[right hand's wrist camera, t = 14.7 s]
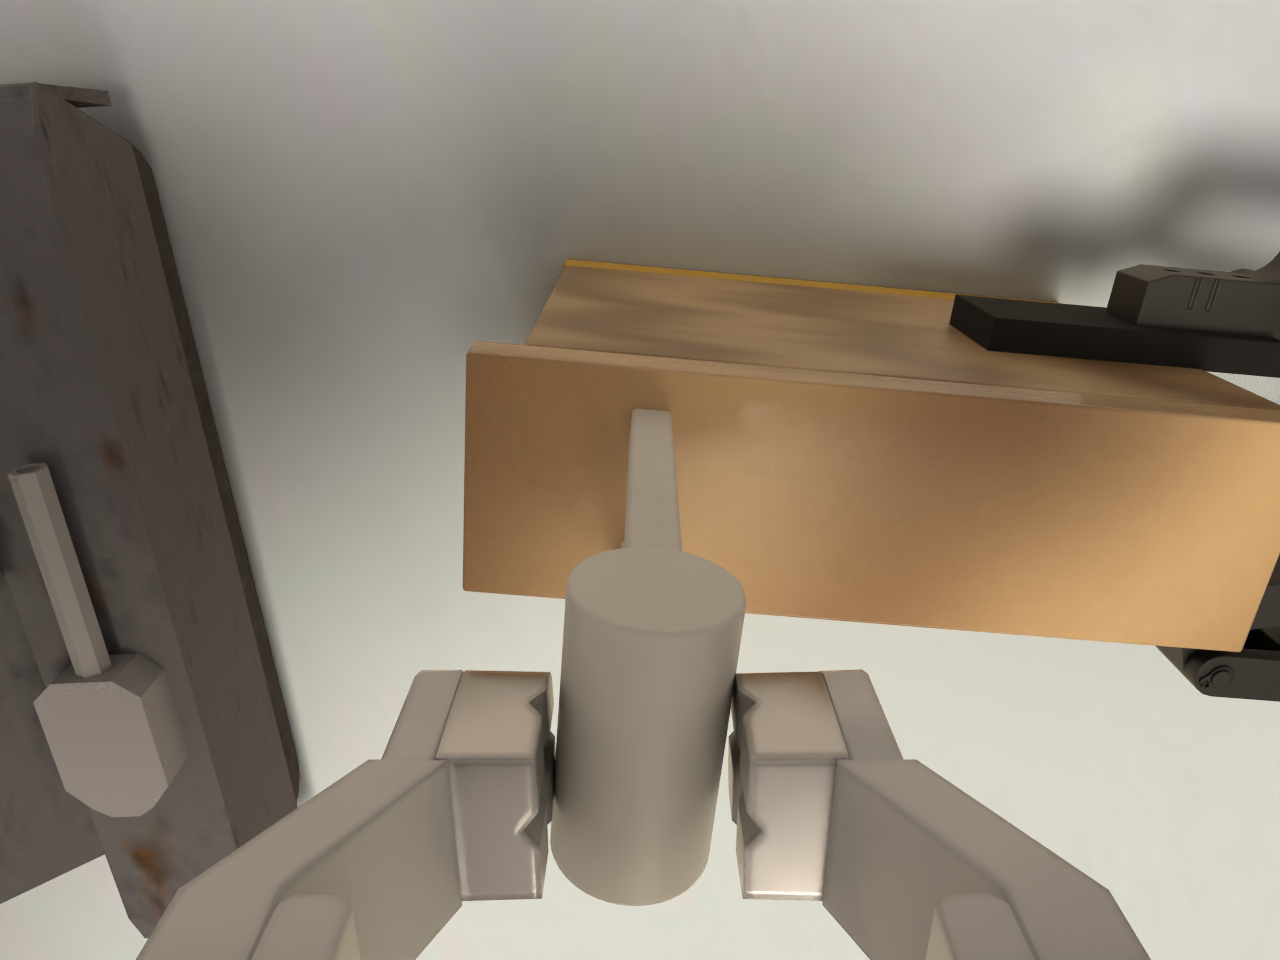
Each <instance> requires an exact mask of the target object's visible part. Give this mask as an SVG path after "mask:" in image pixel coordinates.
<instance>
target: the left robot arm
mask: <svg viewBox="0 0 1280 960" xmlns="http://www.w3.org/2000/svg"><path fill="white" fill-rule="evenodd" d="M949 324H950V325H951V326H953V327H954V328H956V329H957V330H958V331H960V332H961V333H963V334H964V335H966V336H967V337H969V338H970V339H972V340H973V341H974V342H976V343H977V344H979V345H980V346H982V347H983V348H985V349H986V350H988V351H996V352H1008V353H1019V354H1031V355H1042V356H1054V357H1065V358H1077V359H1088V360H1100V361H1111V362H1123V363H1135V364H1146V365H1158V366H1169V367H1181V368H1192V369H1202V370H1204V371H1210V372H1221V373H1232V374H1244V375H1255V376H1266V377H1278V378H1280V252H1279V253H1278V254H1277V256H1276V257H1275V258H1274V259H1273V260H1272V261H1271V262H1270V263H1268V264H1267V265H1266V266H1265V267H1263V268H1261V269H1259V270H1257V271H1254V270H1248V269H1240V270H1236V271H1233V272H1231V273H1229V272H1218V271H1207V270H1196V269H1183V268H1175V267H1164V266H1153V265H1142V264H1141V265H1137V266H1134V267H1130V268H1127V269H1123V270H1120V271H1117V274H1116V278H1115V281H1114V285H1113V288H1112V292H1111V295H1110V299H1109V302H1108V306H1107V308H1103V307H1092V306H1081V305H1070V304H1059V303H1048V302H1037V301H1026V300H1014V299H1003V298H992V297H981V296H970V295H959V294H956V295H955V299H954V304H953V308H952V313H951V317H950V322H949ZM1156 647H1157V648H1158V649H1159V650H1160V651H1161V652H1162V653H1163V654H1164V655H1165V656H1166V657H1167V658H1168V659H1169V661H1170V662H1171V663H1172V664H1173V665H1174V666H1175V667H1176V668H1177V669H1178V670H1179V671H1180V672H1181V673H1182V674H1183V675H1184V676H1185V677H1186V678H1187V679H1188V680H1189V681H1190V682H1191V683H1192V684H1193V685H1194V686H1195V687H1196V689H1198V690H1199V691H1200V692H1201V693H1202V694H1205V695H1209V696H1215V697H1228V698H1241V699H1254V700H1268V701H1280V554H1279V557H1278V559H1277V562H1276V564H1275V567H1274V569H1273V572H1272V574H1271V577H1270V580H1269V582H1268V585H1267V587H1266V590H1265V592H1264V595H1263V597H1262V600H1261V603H1260V605H1259V608H1258V610H1257V613H1256V615H1255V618H1254V620H1253V623H1252V626H1251V628H1250V631H1249V633H1248V636H1247V638H1246V641H1245V643H1244V646H1243V649H1242V651H1241V652H1231V651H1218V650H1206V649H1193V648H1180V647H1168V646H1156Z"/></svg>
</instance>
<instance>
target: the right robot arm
mask: <svg viewBox="0 0 1280 960" xmlns="http://www.w3.org/2000/svg"><path fill="white" fill-rule="evenodd" d="M553 705H554V702H553V687H552V677H551V673H550V672H516V671H467V670H466V671H465V672H463V671H462V670H422V671H421V672H419V673H418V674H417V675H416V676H415V678H414V680H413V683H412V685H411V687H410V690H409V692H408V695H407V697H406V700H405V702H404V705H403V707H402V710H401V712H400V715H399V717H398V720H397V722H396V725H395V727H394V730H393V732H392V734H391V737H390V739H389V742H388V744H387V747H386V749H385V752H384V754H383V757H382V759H381V760H368V761H366V762H365V763H363V764H362V765H360V766H359V767H357V768H356V769H354V770H353V771H351V772H350V773H348V774H347V775H345V776H344V777H342V778H341V779H340V780H338V781H337V782H335V783H334V784H332V785H331V786H329V787H328V788H326V789H325V790H323V791H322V792H320V793H319V794H317V795H316V796H314V797H313V798H312V799H310V800H309V801H307V802H306V803H304V804H303V805H301V806H300V807H298V808H297V809H295V810H294V811H292V812H291V813H289V814H288V815H286V816H285V817H284V818H282V819H281V820H279V821H278V822H276V823H275V824H273V825H272V826H270V827H269V828H267V829H266V830H264V831H263V832H261V833H260V834H258V835H257V836H256V837H254V838H253V839H251V840H250V841H248V842H247V843H245V844H244V845H242V846H241V847H239V848H238V849H236V850H235V851H233V852H232V853H230V854H229V855H228V856H226V857H225V858H223V859H222V860H220V861H219V862H217V863H216V864H214V865H213V866H211V867H210V868H208V869H207V870H205V871H204V872H202V873H201V874H200V875H198V876H197V877H195V878H194V879H192V880H191V881H189V882H188V883H186V884H185V885H183V886H182V887H180V888H179V889H178V891H177V892H176V894H175V896H174V897H173V899H172V901H171V902H170V904H169V906H168V907H167V909H166V910H165V912H164V914H163V915H162V917H161V919H160V920H159V922H158V924H157V925H156V927H155V929H154V930H153V932H152V934H151V935H150V937H149V939H148V940H147V942H146V944H145V945H144V947H143V949H142V950H141V952H140V954H139V955H138V957H137V959H136V960H415V959H416V958H417V957H418V956H419V954H420V953H421V952H422V951H423V950H424V949H425V948H426V946H427V945H428V944H429V943H430V942H431V941H432V939H433V938H434V937H435V936H436V935H437V934H438V933H439V931H440V930H441V929H442V928H443V927H444V926H445V924H446V923H447V922H448V921H449V920H450V919H451V918H452V916H453V915H454V914H455V913H456V912H457V911H458V909H459V908H460V907H461V906H462V901H474V900H509V899H542V894H543V886H544V879H545V871H546V864H547V856H548V832H547V824H549V823H550V822H551V821H552V816H553V807H554V795H555V759H556V751H555V736H554V735H553V734H552V732H551V731H550V728H551V720H552V713H553ZM731 712H732V719H733V726H734V731H733V732H732V734H731V735H730V736H729V755H728V778H729V796H730V807H731V815H732V821H733V822H734V823H736V824H737V839H736V854H737V861H738V868H739V875H740V882H741V889H742V896H743V899H774V900H810V901H823V906H824V907H825V908H826V909H827V910H828V912H829V913H830V914H831V915H832V916H833V917H834V918H835V920H836V921H837V922H838V923H839V924H840V925H841V926H842V928H843V929H844V930H845V931H846V932H847V933H848V935H849V936H850V937H851V938H852V939H853V940H854V941H855V943H856V944H857V945H858V946H859V947H860V948H861V950H862V951H863V952H864V953H865V954H866V955H867V956H868V958H869V959H870V960H1151V959H1150V958H1149V956H1148V954H1147V953H1146V951H1145V949H1144V948H1143V946H1142V944H1141V943H1140V941H1139V939H1138V938H1137V936H1136V934H1135V933H1134V931H1133V929H1132V928H1131V926H1130V924H1129V923H1128V921H1127V919H1126V918H1125V916H1124V914H1123V913H1122V911H1121V909H1120V908H1119V906H1118V905H1117V903H1116V901H1115V900H1114V898H1113V896H1112V895H1111V893H1110V891H1109V890H1108V889H1106V888H1105V887H1103V886H1102V885H1100V884H1099V883H1098V882H1096V881H1095V880H1093V879H1092V878H1090V877H1089V876H1087V875H1086V874H1084V873H1083V872H1081V871H1080V870H1078V869H1077V868H1075V867H1074V866H1072V865H1071V864H1069V863H1068V862H1067V861H1065V860H1064V859H1062V858H1061V857H1059V856H1058V855H1056V854H1055V853H1053V852H1052V851H1050V850H1049V849H1047V848H1046V847H1044V846H1043V845H1041V844H1040V843H1038V842H1037V841H1036V840H1034V839H1033V838H1031V837H1030V836H1028V835H1027V834H1025V833H1024V832H1022V831H1021V830H1019V829H1018V828H1016V827H1015V826H1013V825H1012V824H1010V823H1009V822H1007V821H1006V820H1005V819H1003V818H1002V817H1000V816H999V815H997V814H996V813H994V812H993V811H991V810H990V809H988V808H987V807H985V806H984V805H982V804H981V803H979V802H978V801H977V800H975V799H974V798H972V797H971V796H969V795H968V794H966V793H965V792H963V791H962V790H960V789H959V788H957V787H956V786H954V785H953V784H951V783H950V782H948V781H947V780H946V779H944V778H943V777H941V776H940V775H938V774H937V773H935V772H934V771H932V770H931V769H929V768H928V767H926V766H925V765H923V764H922V763H920V762H919V761H917V760H903V757H902V755H901V752H900V750H899V748H898V745H897V743H896V740H895V738H894V736H893V733H892V731H891V728H890V726H889V724H888V721H887V719H886V716H885V714H884V712H883V709H882V707H881V704H880V702H879V700H878V697H877V695H876V692H875V690H874V688H873V685H872V683H871V680H870V678H869V676H868V674H867V673H866V672H865V671H863V670H838V671H819V672H783V673H736V674H735V681H734V688H733V695H732V702H731Z"/></svg>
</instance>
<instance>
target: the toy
mask: <svg viewBox="0 0 1280 960" xmlns="http://www.w3.org/2000/svg"><path fill="white" fill-rule="evenodd" d="M97 106H111V102H110V99H109V95H108V92H107V91H101V90H92V89H82V88H73V87H64V86H55V85H46V84H38V83H36V82H33V83H19V84H6V85H0V904H1V903H3V902H5V901H7V900H9V899H12V898H14V897H16V896H18V895H20V894H22V893H24V892H26V891H28V890H30V889H32V888H35V887H37V886H39V885H41V884H43V883H45V882H47V881H49V880H51V879H53V878H56V877H58V876H60V875H62V874H64V873H66V872H68V871H70V870H72V869H74V868H77V867H79V866H81V865H83V864H85V863H87V862H89V861H91V860H93V859H95V858H98V857H100V856H102V855H104V854H105V855H106V858H107V861H108V863H109V866H110V869H111V872H112V874H113V877H114V880H115V882H116V885H117V888H118V891H119V893H120V896H121V899H122V902H123V904H124V907H125V910H126V912H127V915H128V918H129V919H130V921H131V922H132V923H133V924H134V925H135V927H136V928H137V929H138V930H139V931H140V933H141V934H142V935H143V936H144V938H149V937H150V935H151V934H152V932H153V930H154V929H155V927H156V925H157V924H158V922H159V920H160V919H161V917H162V915H163V914H164V912H165V910H166V909H167V907H168V906H169V904H170V902H171V901H172V899H173V897H174V896H175V894H176V892H177V891H178V889H179V888H180V887H182V886H183V885H185V884H186V883H188V882H189V881H191V880H192V879H194V878H195V877H197V876H198V875H200V874H201V873H202V872H204V871H205V870H207V869H208V868H210V867H211V866H213V865H214V864H216V863H217V862H219V861H220V860H222V859H223V858H225V857H226V856H228V855H229V854H230V853H232V852H233V851H235V850H236V849H238V848H239V847H241V846H242V845H244V844H245V843H247V842H248V841H250V840H251V839H253V838H254V837H256V836H257V835H258V834H260V833H261V832H263V831H264V830H266V829H267V828H269V827H270V826H272V825H273V824H275V823H276V822H278V821H279V820H281V819H282V818H284V817H285V816H286V815H288V814H289V813H291V812H292V811H294V810H295V809H297V808H298V807H297V797H298V792H299V767H298V761H297V757H296V753H295V749H294V745H293V741H292V737H291V733H290V729H289V725H288V721H287V717H286V713H285V709H284V705H283V701H282V697H281V692H280V688H279V684H278V680H277V676H276V672H275V668H274V664H273V660H272V656H271V652H270V648H269V644H268V640H267V636H266V632H265V628H264V624H263V620H262V616H261V611H260V607H259V603H258V599H257V595H256V591H255V587H254V583H253V579H252V575H251V571H250V567H249V563H248V559H247V555H246V551H245V547H244V543H243V539H242V535H241V530H240V526H239V522H238V518H237V514H236V510H235V506H234V502H233V498H232V494H231V490H230V486H229V482H228V478H227V474H226V470H225V466H224V462H223V458H222V454H221V449H220V445H219V441H218V437H217V433H216V429H215V425H214V421H213V417H212V413H211V409H210V405H209V401H208V397H207V393H206V389H205V385H204V381H203V377H202V373H201V368H200V364H199V360H198V356H197V352H196V348H195V344H194V340H193V336H192V332H191V328H190V324H189V320H188V316H187V312H186V308H185V304H184V300H183V296H182V292H181V288H180V283H179V279H178V275H177V271H176V267H175V263H174V259H173V255H172V251H171V247H170V243H169V239H168V235H167V231H166V227H165V223H164V219H163V215H162V211H161V207H160V202H159V198H158V194H157V190H156V186H155V182H154V178H153V174H152V170H151V168H150V166H149V165H148V163H147V162H146V160H145V159H144V157H143V155H142V154H141V153H140V152H139V151H138V150H137V149H136V148H135V147H134V146H133V145H132V144H131V143H130V142H129V141H127V140H125V139H123V138H121V137H120V136H118V135H117V134H115V133H114V132H112V131H111V130H109V129H108V128H106V127H105V126H103V125H102V124H100V123H99V122H97V121H96V120H94V119H93V118H91V117H90V116H88V115H87V114H85V113H84V112H82V111H81V110H79V109H78V108H80V107H97Z"/></svg>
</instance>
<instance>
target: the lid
mask: <svg viewBox="0 0 1280 960" xmlns="http://www.w3.org/2000/svg"><path fill="white" fill-rule="evenodd" d="M1279 554H1280V411H1279V410H1267V409H1256V408H1244V407H1233V406H1221V405H1209V404H1198V403H1186V402H1175V401H1163V400H1152V399H1140V398H1129V397H1117V396H1105V395H1094V394H1082V393H1071V392H1059V391H1048V390H1036V389H1024V388H1013V387H1001V386H990V385H978V384H967V383H955V382H943V381H932V380H920V379H909V378H897V377H886V376H874V375H863V374H851V373H839V372H828V371H816V370H805V369H793V368H782V367H770V366H758V365H747V364H735V363H724V362H712V361H701V360H689V359H677V358H666V357H654V356H643V355H631V354H620V353H608V352H596V351H585V350H573V349H562V348H550V347H539V346H527V345H516V344H504V343H492V342H481V341H478V342H475V344H474V345H473V346H472V348H471V349H470V350H469V352H468V353H467V355H466V408H465V473H464V538H463V589H464V590H465V591H473V592H486V593H498V594H511V595H524V596H536V597H549V598H562V599H566V603H565V618H564V634H563V650H562V665H561V681H560V697H559V712H558V728H557V744H556V759H555V795H554V807H553V816H552V822H551V839H550V843H551V850H552V853H553V856H554V859H555V861H556V863H557V865H558V867H559V868H560V870H561V871H562V873H563V874H564V875H565V876H566V878H567V879H568V880H569V881H570V882H571V883H573V884H574V885H575V886H576V887H577V888H579V889H580V890H582V891H584V892H585V893H587V894H589V895H591V896H593V897H595V898H597V899H600V900H603V901H606V902H610V903H614V904H620V905H628V906H642V905H651V904H656V903H661V902H664V901H667V900H670V899H672V898H674V897H676V896H678V895H680V894H682V893H683V892H685V891H686V890H687V889H689V888H690V887H691V886H692V885H693V884H694V883H695V882H696V880H697V879H698V878H699V877H700V876H701V874H702V872H703V871H704V869H705V867H706V864H707V861H708V856H709V850H710V843H711V836H712V830H713V823H714V816H715V809H716V803H717V796H718V789H719V783H720V776H721V769H722V762H723V756H724V749H725V742H726V736H727V729H728V722H729V715H730V709H731V702H732V695H733V688H734V681H735V674H736V668H737V662H738V655H739V648H740V642H741V635H742V628H743V621H744V615H745V613H751V614H764V615H776V616H789V617H801V618H814V619H827V620H839V621H852V622H865V623H877V624H890V625H902V626H915V627H928V628H940V629H953V630H966V631H978V632H991V633H1003V634H1016V635H1029V636H1041V637H1054V638H1067V639H1079V640H1092V641H1104V642H1117V643H1130V644H1142V645H1155V646H1168V647H1180V648H1193V649H1206V650H1218V651H1231V652H1241V651H1242V649H1243V646H1244V643H1245V641H1246V638H1247V636H1248V633H1249V631H1250V628H1251V626H1252V623H1253V620H1254V618H1255V615H1256V613H1257V610H1258V608H1259V605H1260V603H1261V600H1262V597H1263V595H1264V592H1265V590H1266V587H1267V585H1268V582H1269V580H1270V577H1271V574H1272V572H1273V569H1274V567H1275V564H1276V562H1277V559H1278V557H1279Z"/></svg>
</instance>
